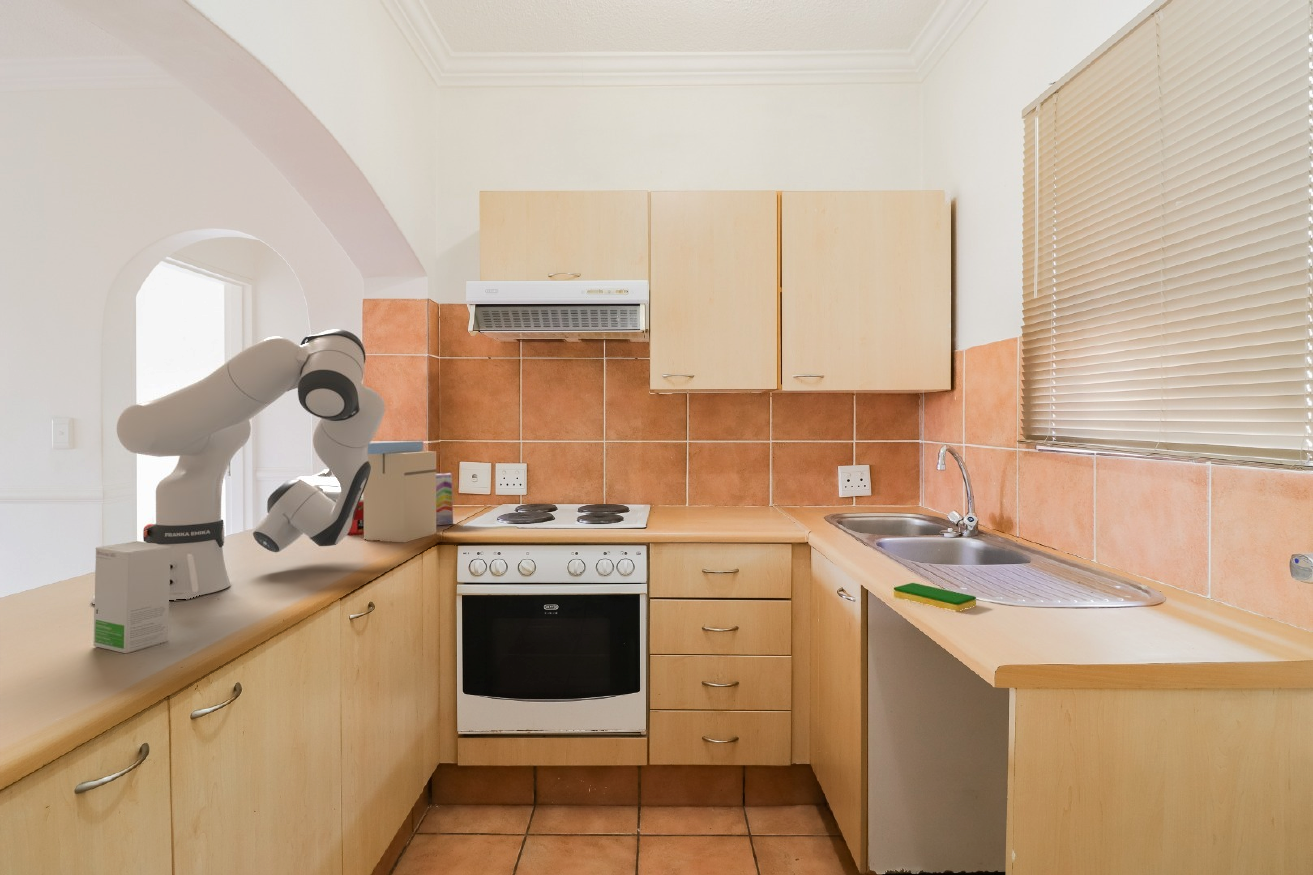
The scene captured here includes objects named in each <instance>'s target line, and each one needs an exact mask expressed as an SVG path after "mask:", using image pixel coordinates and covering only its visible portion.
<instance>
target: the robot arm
mask: <svg viewBox="0 0 1313 875" xmlns="http://www.w3.org/2000/svg"><path fill="white" fill-rule="evenodd" d="M366 358H367V357H366V351H365V347H364V345H363V343H362V340H360V338H359V337H358V336H357V335H355V334H354V333H352V332H350V331H348V330H344V329H329V330H325V331H323V332H320V333H318V334H311V335H308V336H305V337H304V338H303V339H302V340H301V343H300V344H296V343H294V341H291V340H289V339H287V338H285V337H281V336H270V337H266V338H264V339H261V340H260V341H258V342H256V343H254V344H252V345H250V346H248V347H247V348H245V349H244V350H242V351H240V352H238V353H237V354H236V355H234V356H233V357H231V359H229V360H228V361H227V362H225V363H224V364H222V365H221V366H220V367H218V368H217V369H215V370H214V371H212V373H210V374H209V375H208V376H205V377H204V378H202V379H200V380H199V381H197V382H194V383H192V384H190V385H187V386H185V387H182V388H180V389H178V390H176V391H173V392H171V393H168V394H166V395H164V396H161V397H157V398H156V399H153V400H149V401H145V402H141V403H136V404H133V405H130V406H127V408H125V409H124V410H123V411H122V413H121V414H120V415H119V417H118V420H117V423H116V433H117V434H116V435H117V438H118V440H119V442H120V444H121V445H122V446H123V447H124V448H125V450H127V451H129V453H130V452H131V453H133V454H138V455H145V456H152V457H157V458H158V457H159V458H162V457H178V461H177V464H176V465H175V468H174V469H173V471H172V472H171V473H170V474H168V475H167V476H166V477H164V478H163V479H162V480H160V481H159V482H158V484H157V485H156V488H155V523H148V524H146V525H145V526H144V527H143V533H142V534H143V535H142V536H143V542H146V543H156V544H158V545H164V546H169V547H171V560H170V592H169V600H174V601H176V600H175V599H186V600H190V598H191V599H193V597H194V598H197V597H199V595H200V596H202V595H206V594H207V595H208V594H212V593H215V592H219V591H221V590H225V589H227V588H229V587H230V586H231V585H232V583H231V581H230V578H229V574H228V571H227V567H226V561H225V557H224V556H225V555H224V550H223V546H224V544H225V525H224V520H223V519H222V494H223V493H222V491H223V483H224V478H225V474H226V472H227V469H228V467H229V465H230V462H231V460H233V457H234V456H235V454H236V453H237V452H238V451H239V450H240V449H241V448H243V446H245V445H246V443H247V442H248V440H249V438H250V436H251V430H252V429H251V428H252V427H251V422H250V420H251V419H252V418H254V417H255V416H257V415H258V414H259V413H260V412H262V411H263V410H264V409H266V408H267V407H269V406H270V405H271V404H273V403H275V402H276V401H277V400H278V399H279V398H281V397H282V396H283V395H284V394H285V393H286V392H290V391H292V390H295V389H297V396H298V397H297V398H298V401H299V404H300V405H301V407H302V408H303V409H304V410H305V411H306V412H307V413H309V414H311V415H312V416H315V417H317V418H318V419H320V420H319V421H318V423H317V425H316V428H315V429H314V432H313V437H312V444H313V447H314V451H315V453H316V454H317V456H318V457H319V459H320V460H321V462H322V463H323V464H324V465H325V466H326V467H327V469H326V468H325V469H324V470H322V471H321V472H319V473H316V474H313V475H312V476H310V475H309V476H308V475H305V476H304V475H300V476H298V477H295V478H294V479H289V480H286V481H285V482H284V483H283V484H281V485H280V486H279V487H277V488H276V489H275V490H274V491H273V492H272V493H271V494H270V496H269V497H268V498H267V504H266V505H267V506H266V510H267V515H266V516H265V517H264V518H263V519H262V520H261V521H260V523H259V524H258V525H257V526H256V528H254V529H253V532H252V536H253V538H254V540H255V541H256V543H257V544H258V545H260V546H261V547H263V548H264V549H266V550H267V551H269V552H273V553H279V552H282V551H283V550H285V549H286V548H288V547H290V545H293V543H295V541H298V539H299V538H301V537H302V535H305V536H307V537H308V538H309V539H310V540H311V541H312V542H314V543H315V544H316V545H317V546H318V547H333V546H337V545H338V544H339V543H340V542H342V541H343V540H344V539H345V538H346V537H347V534H348V532H349V530H350V528H351V525H352V523H353V519H354V514H355V511H356V509H357V506H358V504H359V501H360V499H361V497H362V496H363V495H364V490H365V486H366V484H367V481H368V478H369V475H370V471H371V466H370V463H369V461H368V454H367V452H368V446H369V443H372V441H373V439H374V437H375V436H376V434H377V432H378V430H379V428H380V425H381V423H382V421H383V418H384V416H385V412H386V404H385V401H384V399H383V397H382V396H381V395H380V394H379V392H377V391H376V390H374V389H372V388H371V387H368V386H365V385H363V383H362V382H363V379H364V373H365V372H364V370H365V363H366ZM332 475H334V476H332ZM196 596H197V597H196ZM91 603H92V604H93V605H94V604H95V593H94V594H93V595H92V599H91Z"/></svg>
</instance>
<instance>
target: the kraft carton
mask: <svg viewBox="0 0 1313 875" xmlns="http://www.w3.org/2000/svg"><path fill="white" fill-rule="evenodd" d="M368 461H369V463H370V466H371V471H370V475H369V478H368V481H367V484H366V486H365V490H364V491H363V497H364V534H363V540H364V539H366V540H365V541H373V540H380V541H379V542H390V541H391V542H392V543H394V542H395V543H408V542H411V541H414V540H418V539H422V538H425V537H429V536H433V535H436V534H437V525H436V474H437V451H436V450H435V451H432V450H431V451H429V450H428V451H427V450H423V451H413V452H397V453H382V454H368Z"/></svg>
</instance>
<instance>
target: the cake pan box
mask: <svg viewBox="0 0 1313 875" xmlns="http://www.w3.org/2000/svg"><path fill="white" fill-rule="evenodd" d="M453 496H454V495H453V475H452V473H451V472H448V473H444V472H443V473H436V526H443V525H453V524H454V509H453V508H454V502H453V501H454V499H453Z"/></svg>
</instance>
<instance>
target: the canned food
mask: <svg viewBox="0 0 1313 875" xmlns="http://www.w3.org/2000/svg"><path fill="white" fill-rule="evenodd" d="M362 534H363V535H364V496H363V497H362V496H361V499H360V501H359V504H358V506H357V509H356V511H355V514H354V519H353V523H352V525H351V528H350V530H349V532H348V534H347V535H348V536H360V535H361V536H362ZM347 535H346V536H347Z"/></svg>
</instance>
